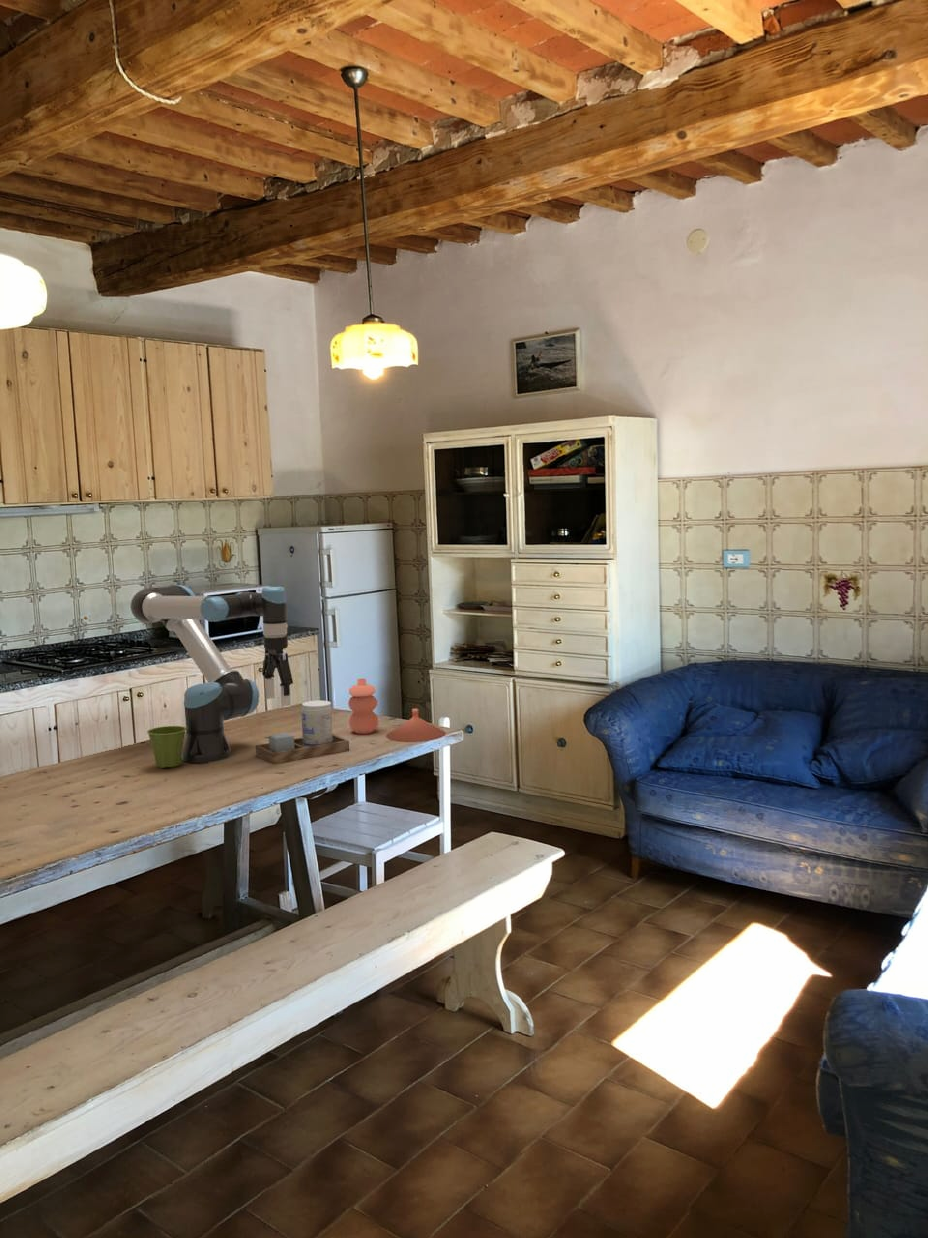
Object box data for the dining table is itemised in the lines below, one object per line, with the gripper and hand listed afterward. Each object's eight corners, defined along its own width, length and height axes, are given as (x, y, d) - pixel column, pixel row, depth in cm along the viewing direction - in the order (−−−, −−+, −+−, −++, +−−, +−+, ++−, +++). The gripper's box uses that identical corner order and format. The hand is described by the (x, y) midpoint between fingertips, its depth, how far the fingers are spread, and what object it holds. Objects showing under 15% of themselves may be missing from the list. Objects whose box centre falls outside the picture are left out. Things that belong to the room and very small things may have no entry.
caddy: (273, 764, 308) (272, 753, 307) (256, 755, 319) (255, 745, 319) (349, 750, 322) (348, 740, 321) (330, 742, 333) (329, 733, 333)
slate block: (294, 754, 316) (293, 735, 315) (276, 757, 313) (275, 738, 312) (287, 750, 321) (286, 732, 320) (269, 753, 318) (268, 735, 317)
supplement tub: (297, 749, 322) (294, 704, 320) (315, 743, 330) (313, 699, 328) (321, 752, 317) (319, 707, 315) (339, 745, 325) (337, 701, 324)
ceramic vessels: (455, 729, 347) (453, 676, 344) (433, 744, 327) (431, 687, 325) (364, 725, 358) (361, 673, 356) (337, 739, 339) (334, 684, 336)
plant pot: (177, 770, 304) (175, 734, 303) (141, 770, 306) (139, 734, 305) (195, 760, 316) (193, 725, 314) (161, 760, 318) (158, 725, 317)
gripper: (301, 639, 307) (304, 707, 310) (272, 630, 328) (274, 694, 331) (278, 641, 303) (281, 710, 306) (250, 632, 324) (253, 696, 327)
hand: (278, 702), depth 319 cm, fingers open, 13 cm apart
